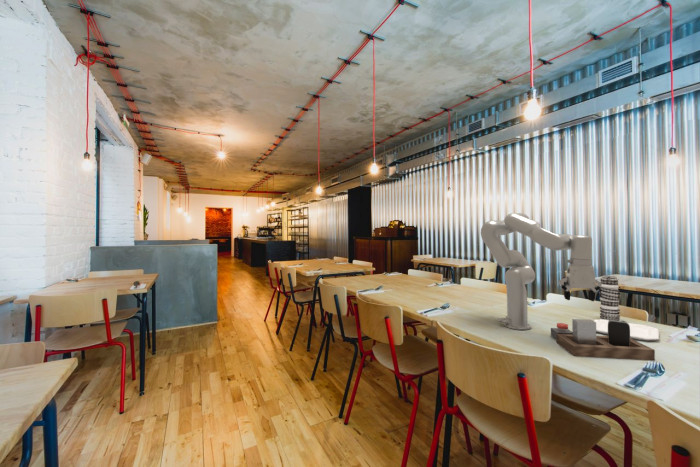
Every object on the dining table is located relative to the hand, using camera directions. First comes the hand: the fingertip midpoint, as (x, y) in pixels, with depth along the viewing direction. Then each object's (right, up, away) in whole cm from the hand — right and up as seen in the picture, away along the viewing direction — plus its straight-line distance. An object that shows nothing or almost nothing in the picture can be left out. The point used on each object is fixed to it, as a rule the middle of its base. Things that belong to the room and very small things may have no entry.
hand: (579, 300), depth 137 cm
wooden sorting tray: (+3, -19, -9) cm, 22 cm away
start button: (-4, -14, +5) cm, 16 cm away
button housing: (-4, -20, +5) cm, 21 cm away
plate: (+32, -19, +14) cm, 40 cm away
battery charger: (+9, -18, -10) cm, 22 cm away
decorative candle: (+41, -19, +31) cm, 55 cm away
